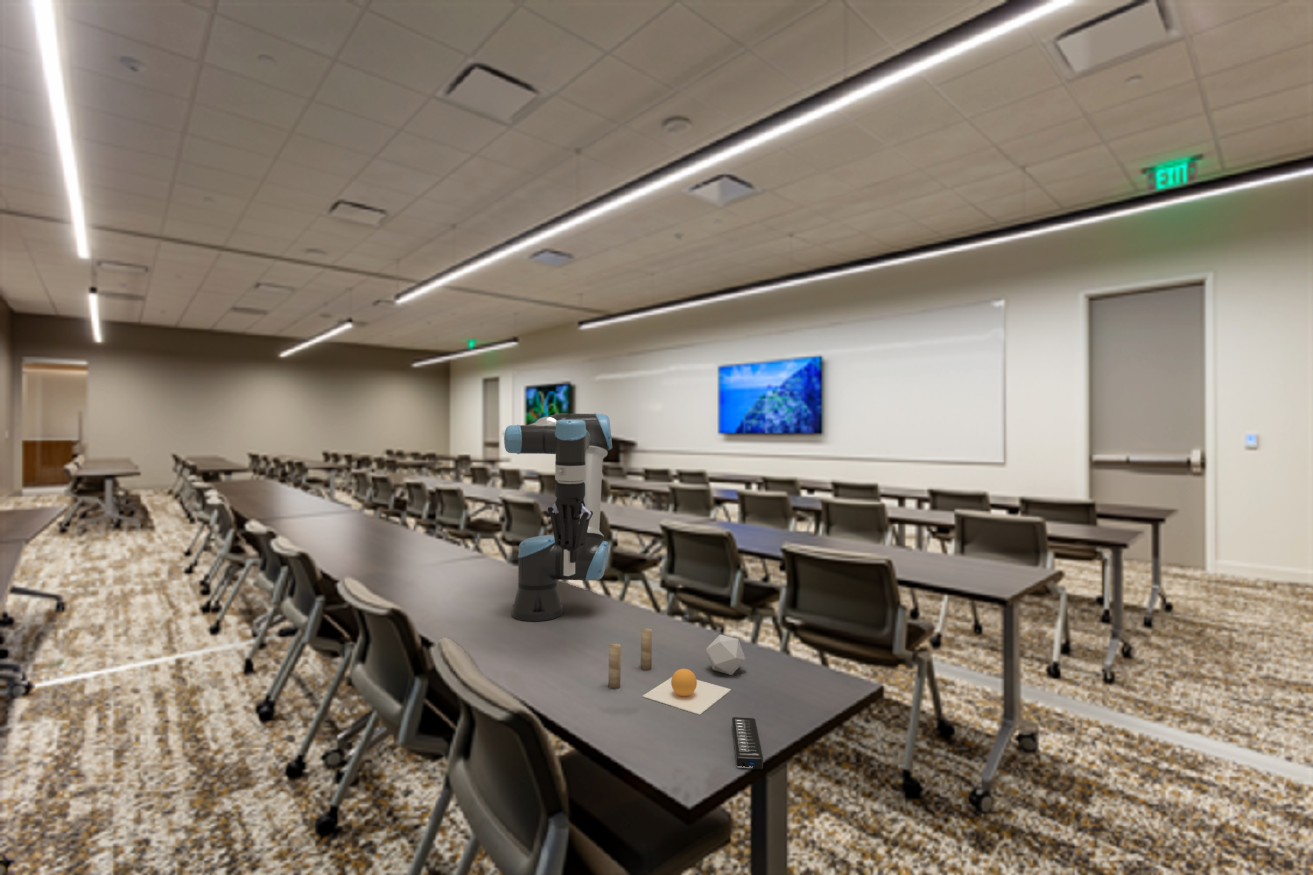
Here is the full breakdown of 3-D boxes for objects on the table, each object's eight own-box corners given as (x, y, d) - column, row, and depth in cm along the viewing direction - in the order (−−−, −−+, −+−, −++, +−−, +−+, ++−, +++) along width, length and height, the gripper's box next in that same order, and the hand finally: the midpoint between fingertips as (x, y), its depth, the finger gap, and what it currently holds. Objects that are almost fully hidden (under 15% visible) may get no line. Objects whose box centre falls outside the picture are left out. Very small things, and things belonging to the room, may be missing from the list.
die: (751, 672, 144) (738, 633, 149) (745, 666, 137) (732, 625, 142) (718, 683, 145) (707, 643, 150) (711, 677, 138) (699, 635, 143)
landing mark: (676, 674, 140) (676, 674, 140) (731, 690, 132) (731, 689, 132) (642, 696, 128) (642, 695, 128) (699, 715, 121) (699, 714, 121)
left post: (613, 682, 135) (613, 642, 135) (622, 685, 134) (623, 645, 134) (606, 686, 133) (606, 646, 133) (615, 689, 132) (616, 648, 132)
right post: (644, 664, 146) (645, 627, 146) (653, 667, 144) (654, 629, 144) (638, 668, 144) (639, 630, 143) (647, 671, 142) (648, 632, 142)
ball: (696, 696, 131) (676, 681, 134) (705, 675, 130) (685, 660, 133) (682, 705, 126) (662, 689, 129) (692, 683, 125) (671, 667, 128)
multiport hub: (754, 729, 116) (755, 717, 116) (763, 772, 102) (763, 758, 102) (731, 728, 117) (731, 716, 117) (736, 770, 102) (736, 757, 102)
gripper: (540, 480, 151) (539, 573, 153) (581, 485, 145) (580, 582, 146) (560, 477, 158) (559, 567, 159) (600, 482, 151) (599, 575, 152)
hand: (569, 574), depth 153 cm, fingers closed
